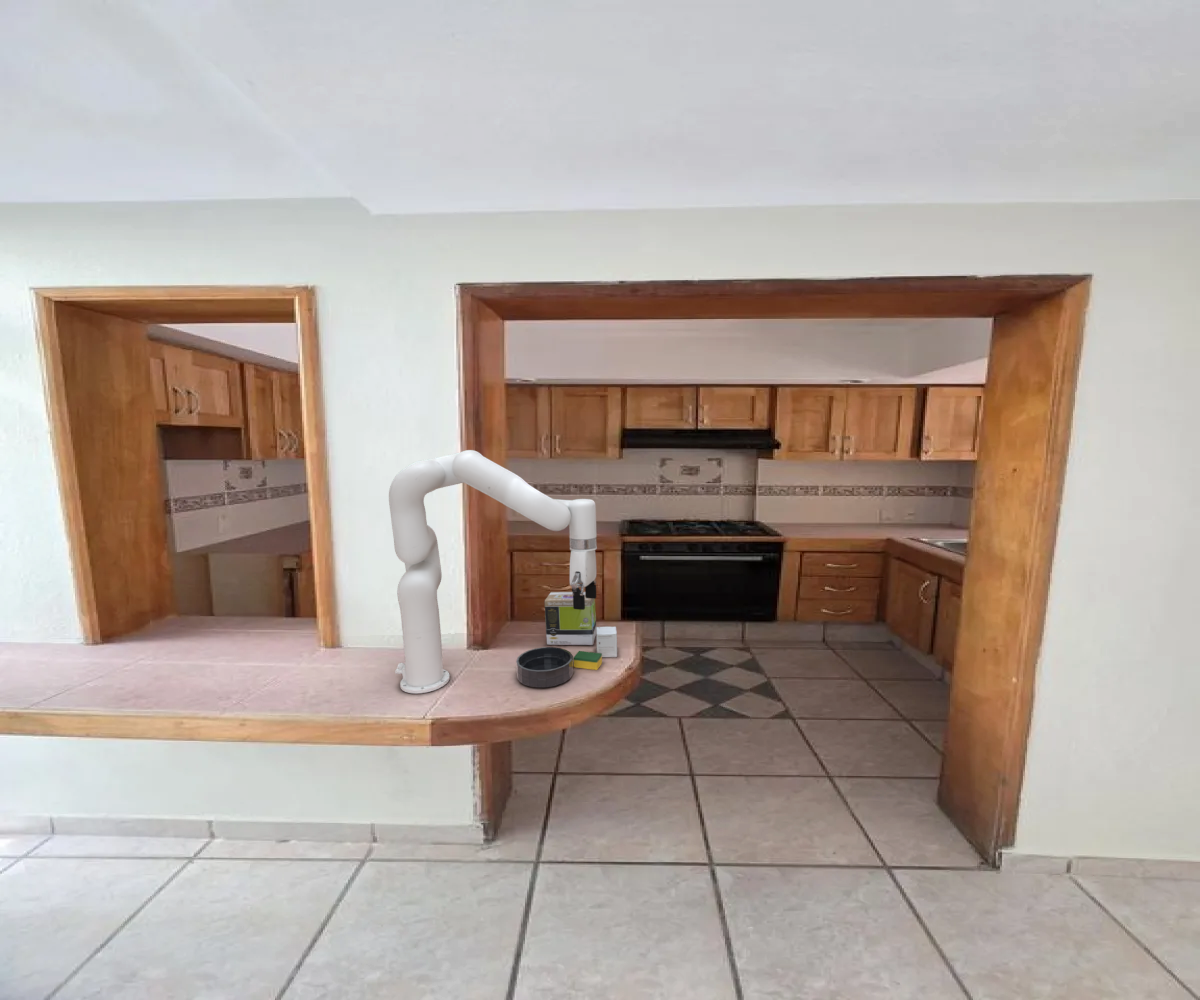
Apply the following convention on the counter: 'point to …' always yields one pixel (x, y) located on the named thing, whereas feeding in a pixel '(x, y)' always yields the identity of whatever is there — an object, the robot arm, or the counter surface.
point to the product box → (606, 641)
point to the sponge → (588, 660)
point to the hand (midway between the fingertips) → (585, 603)
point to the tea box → (569, 620)
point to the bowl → (544, 667)
